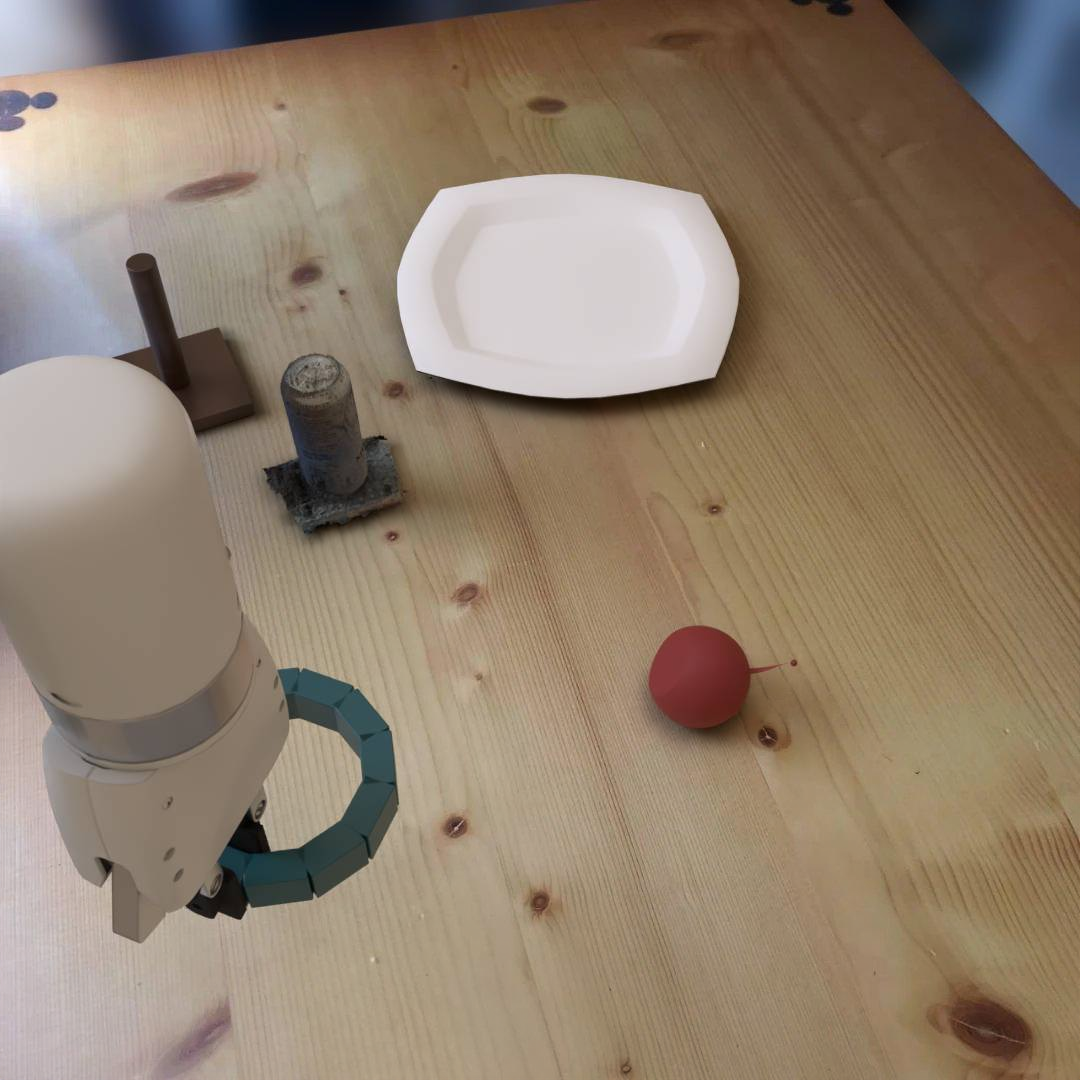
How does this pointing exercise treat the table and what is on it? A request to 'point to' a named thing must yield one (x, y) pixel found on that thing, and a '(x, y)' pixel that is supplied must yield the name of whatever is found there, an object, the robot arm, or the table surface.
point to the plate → (568, 287)
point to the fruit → (701, 676)
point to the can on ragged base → (330, 449)
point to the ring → (362, 822)
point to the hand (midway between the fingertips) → (228, 879)
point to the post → (185, 355)
